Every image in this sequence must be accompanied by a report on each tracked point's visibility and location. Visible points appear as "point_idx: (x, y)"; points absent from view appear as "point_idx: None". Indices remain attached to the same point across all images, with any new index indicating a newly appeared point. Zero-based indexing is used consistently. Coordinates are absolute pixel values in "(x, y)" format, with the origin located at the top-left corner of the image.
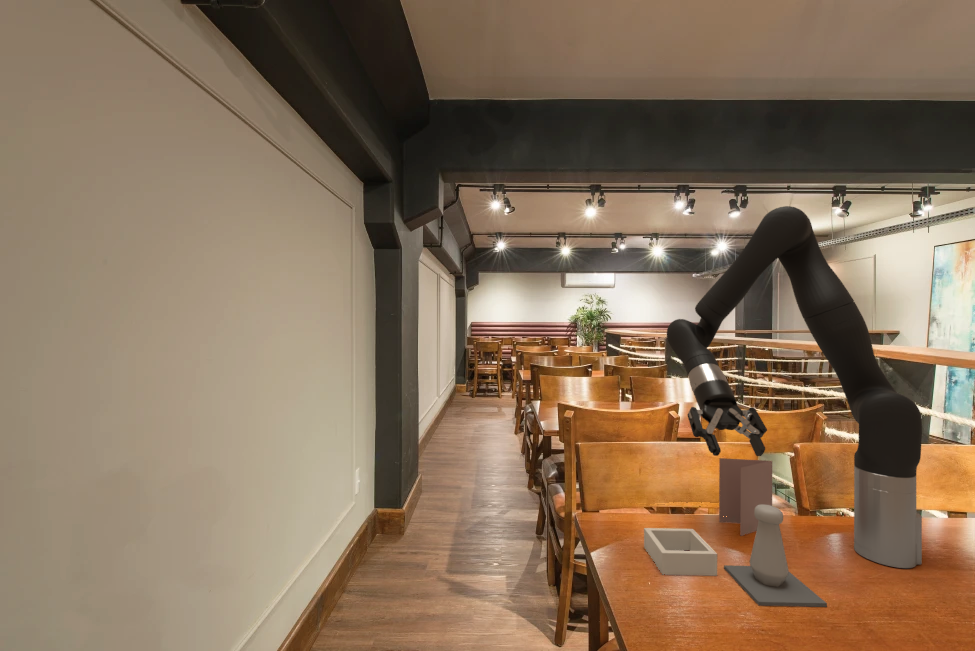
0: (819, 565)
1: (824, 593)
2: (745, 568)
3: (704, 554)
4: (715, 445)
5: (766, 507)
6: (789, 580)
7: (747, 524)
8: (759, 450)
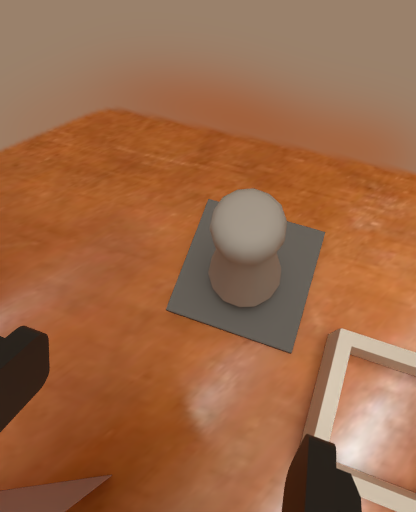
0: (77, 300)
1: (172, 229)
2: (252, 327)
3: (372, 338)
4: (336, 481)
5: (258, 217)
6: (204, 266)
7: (70, 486)
8: (36, 348)
